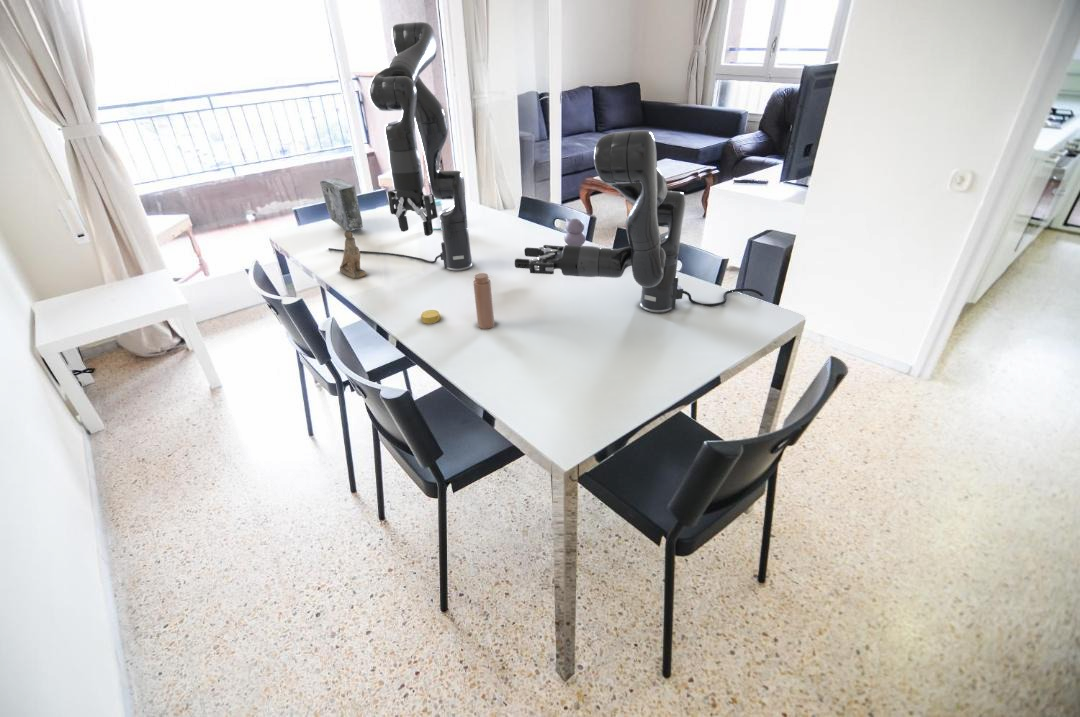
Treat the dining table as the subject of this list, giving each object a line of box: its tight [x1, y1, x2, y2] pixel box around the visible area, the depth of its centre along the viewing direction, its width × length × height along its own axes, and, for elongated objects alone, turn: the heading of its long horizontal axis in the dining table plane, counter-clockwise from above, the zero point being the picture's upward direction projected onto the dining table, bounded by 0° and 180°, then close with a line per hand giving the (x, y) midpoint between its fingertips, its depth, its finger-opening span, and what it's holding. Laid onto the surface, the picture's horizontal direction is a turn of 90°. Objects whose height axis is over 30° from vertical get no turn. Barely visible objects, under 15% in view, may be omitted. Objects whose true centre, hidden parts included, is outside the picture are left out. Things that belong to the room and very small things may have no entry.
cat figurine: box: [563, 217, 587, 246], centre depth 188 cm, size 8×8×12 cm
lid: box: [420, 309, 441, 325], centre depth 145 cm, size 5×5×2 cm
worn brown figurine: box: [339, 230, 367, 280], centre depth 174 cm, size 12×6×18 cm, turn 43°
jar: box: [472, 272, 495, 330], centre depth 137 cm, size 5×5×15 cm
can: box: [431, 198, 445, 230], centre depth 220 cm, size 7×7×12 cm
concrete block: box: [319, 177, 364, 232], centre depth 222 cm, size 27×9×20 cm, turn 36°
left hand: (416, 232), depth 132 cm, fingers open, 8 cm apart
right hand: (520, 257), depth 127 cm, fingers open, 8 cm apart
